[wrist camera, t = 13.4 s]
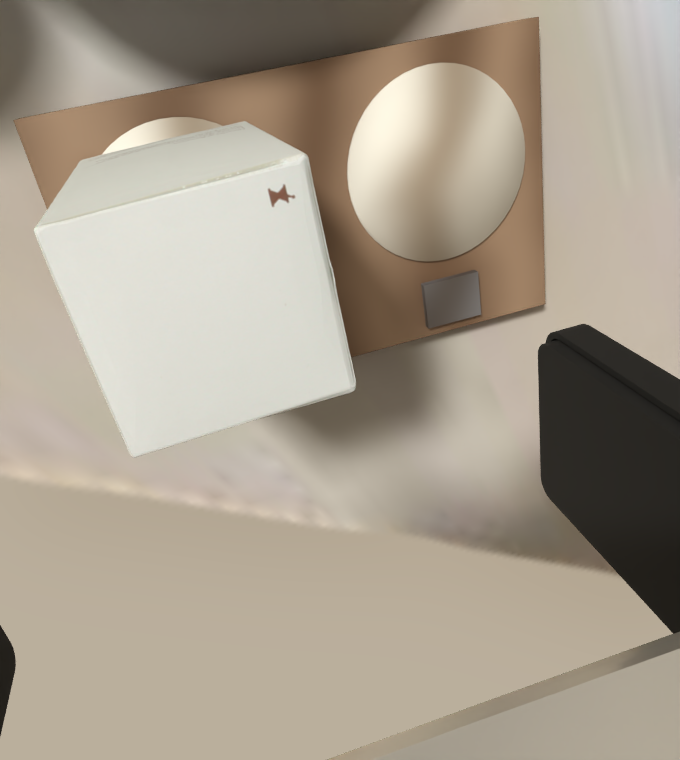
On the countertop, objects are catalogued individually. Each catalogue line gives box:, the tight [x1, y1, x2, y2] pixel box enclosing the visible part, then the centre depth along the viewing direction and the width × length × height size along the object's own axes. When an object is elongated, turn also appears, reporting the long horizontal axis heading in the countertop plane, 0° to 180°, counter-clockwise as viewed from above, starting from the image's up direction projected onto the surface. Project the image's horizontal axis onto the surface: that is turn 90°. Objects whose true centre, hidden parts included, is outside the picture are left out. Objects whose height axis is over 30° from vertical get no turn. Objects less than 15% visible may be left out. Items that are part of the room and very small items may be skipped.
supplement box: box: [34, 121, 356, 458], centre depth 23 cm, size 7×7×13 cm
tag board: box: [14, 17, 545, 357], centre depth 31 cm, size 23×14×2 cm, turn 100°
